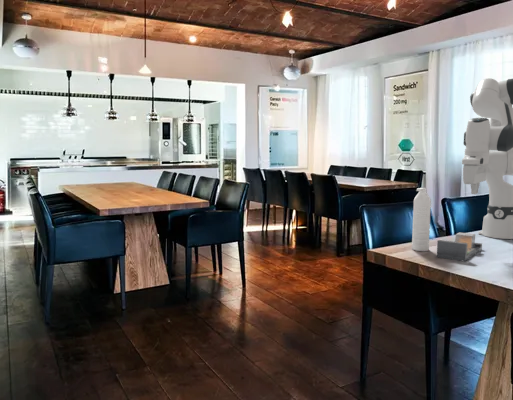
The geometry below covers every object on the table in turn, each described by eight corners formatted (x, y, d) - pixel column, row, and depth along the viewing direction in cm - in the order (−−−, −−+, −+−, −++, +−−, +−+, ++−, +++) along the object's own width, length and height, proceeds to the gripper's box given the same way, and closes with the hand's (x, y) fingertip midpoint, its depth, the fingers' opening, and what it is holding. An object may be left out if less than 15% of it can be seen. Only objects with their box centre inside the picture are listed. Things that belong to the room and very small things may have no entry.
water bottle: (414, 247, 187) (416, 186, 184) (430, 249, 184) (433, 187, 181) (408, 251, 180) (410, 188, 177) (425, 253, 177) (427, 189, 174)
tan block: (458, 244, 185) (459, 232, 185) (474, 246, 182) (475, 234, 181) (455, 246, 182) (455, 234, 181) (471, 248, 178) (471, 236, 177)
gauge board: (455, 246, 189) (456, 231, 189) (481, 249, 183) (482, 234, 182) (436, 256, 171) (437, 240, 170) (465, 261, 165) (466, 244, 164)
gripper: (475, 158, 190) (473, 190, 192) (460, 160, 175) (458, 195, 177) (491, 158, 186) (489, 191, 188) (478, 160, 171) (476, 197, 173)
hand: (474, 193), depth 182 cm, fingers closed
